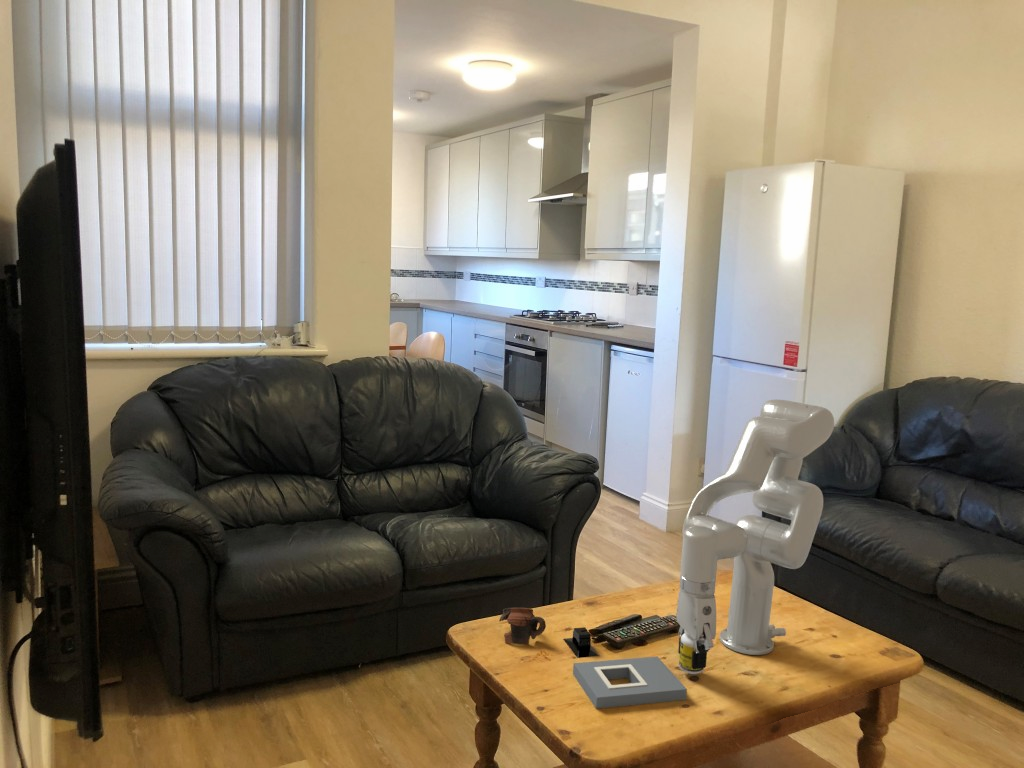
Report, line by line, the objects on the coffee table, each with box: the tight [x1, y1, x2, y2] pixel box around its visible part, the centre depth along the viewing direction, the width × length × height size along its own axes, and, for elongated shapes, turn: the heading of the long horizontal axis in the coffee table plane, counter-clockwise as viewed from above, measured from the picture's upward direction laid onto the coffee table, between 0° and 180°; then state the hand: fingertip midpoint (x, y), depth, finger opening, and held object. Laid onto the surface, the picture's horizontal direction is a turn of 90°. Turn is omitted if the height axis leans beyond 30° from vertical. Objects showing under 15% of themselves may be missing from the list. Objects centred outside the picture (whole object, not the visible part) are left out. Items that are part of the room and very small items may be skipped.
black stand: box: [562, 626, 600, 659], centre depth 186 cm, size 12×7×5 cm, turn 16°
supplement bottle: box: [678, 630, 705, 675], centre depth 176 cm, size 5×5×10 cm
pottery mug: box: [498, 607, 547, 645], centre depth 190 cm, size 12×10×8 cm
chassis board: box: [572, 655, 688, 710], centre depth 170 cm, size 20×14×3 cm
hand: (691, 659), depth 177 cm, fingers closed on supplement bottle, 5 cm apart
